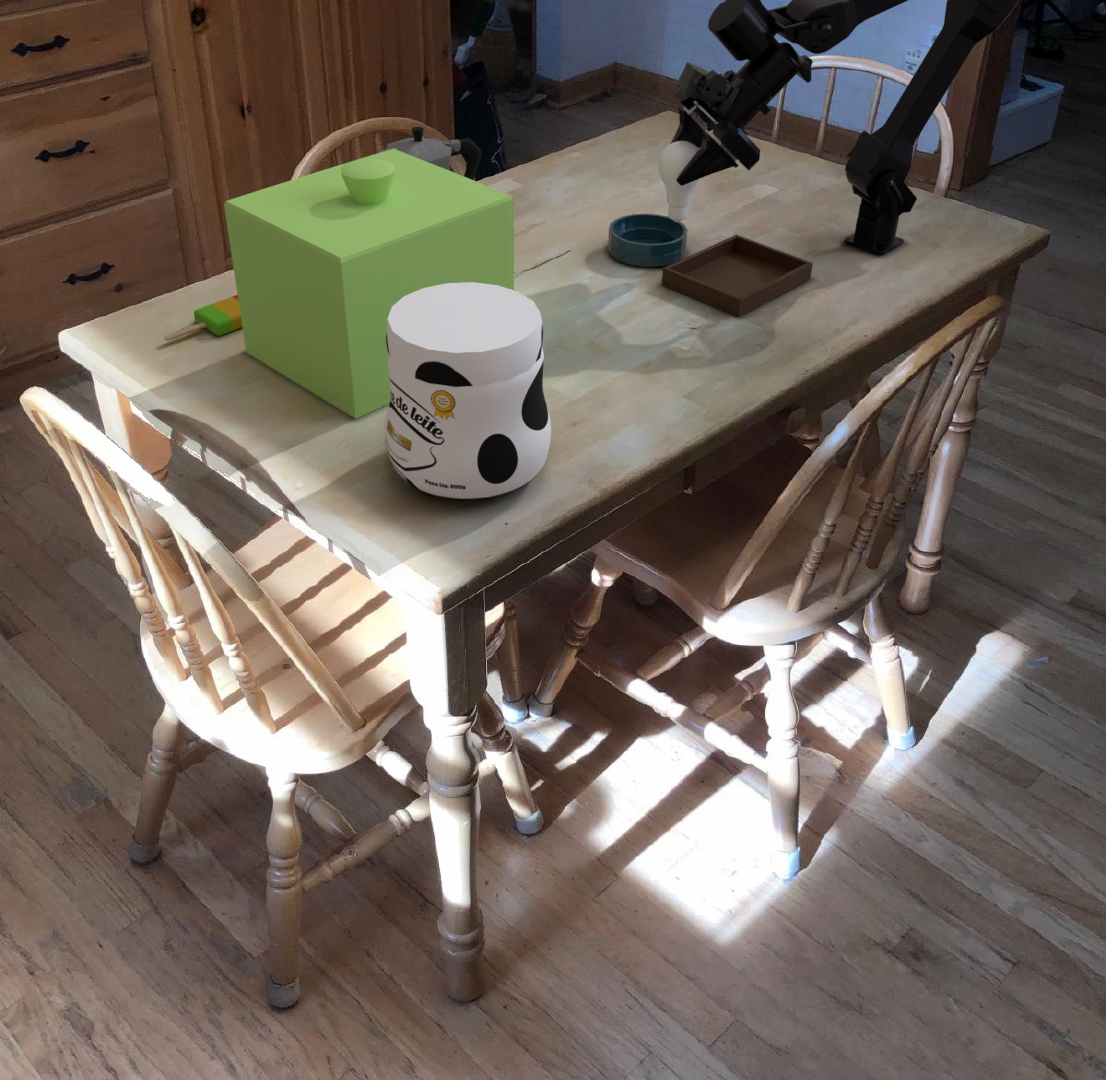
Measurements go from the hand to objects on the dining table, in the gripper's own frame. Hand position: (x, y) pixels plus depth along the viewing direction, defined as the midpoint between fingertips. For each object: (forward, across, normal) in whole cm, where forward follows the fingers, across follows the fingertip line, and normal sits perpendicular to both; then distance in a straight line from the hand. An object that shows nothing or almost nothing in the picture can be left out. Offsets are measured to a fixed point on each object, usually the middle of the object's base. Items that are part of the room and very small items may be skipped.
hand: (670, 174), depth 163 cm
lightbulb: (+4, 0, +6) cm, 7 cm away
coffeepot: (+31, -11, -13) cm, 36 cm away
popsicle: (+52, +5, -34) cm, 63 cm away
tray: (+4, +7, +15) cm, 17 cm away
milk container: (+35, +44, -17) cm, 58 cm away
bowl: (+10, -5, +9) cm, 14 cm away
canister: (+39, +15, -21) cm, 46 cm away
